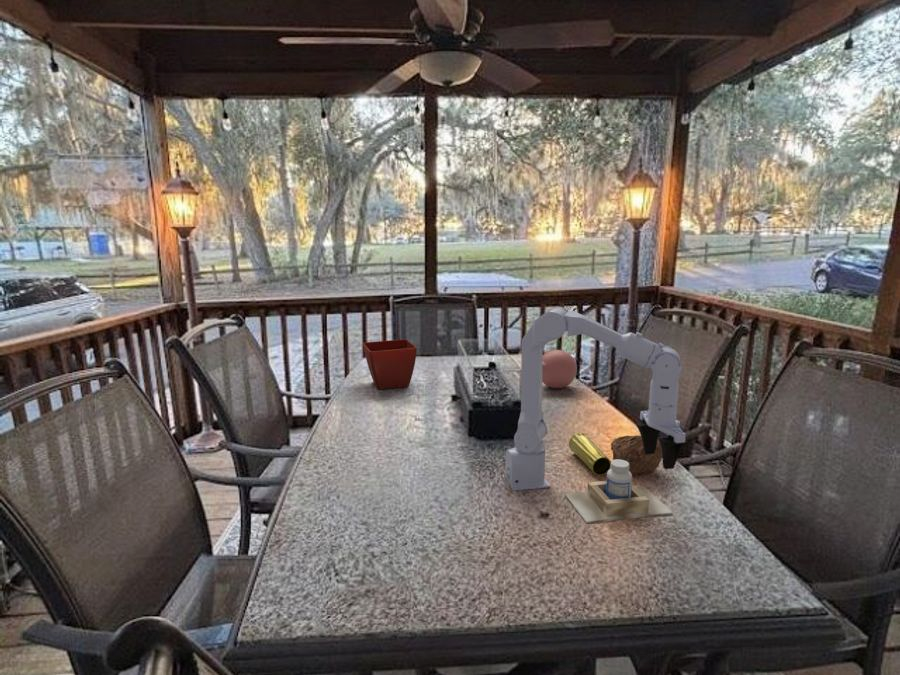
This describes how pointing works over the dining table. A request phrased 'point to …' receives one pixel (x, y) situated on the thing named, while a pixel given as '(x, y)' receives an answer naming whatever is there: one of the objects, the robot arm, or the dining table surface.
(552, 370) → the balloon
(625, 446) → the decorative rock
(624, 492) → the pill bottle
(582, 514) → the socket block
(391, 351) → the plant pot
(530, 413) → the robot arm
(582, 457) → the vase
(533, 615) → the dining table surface
